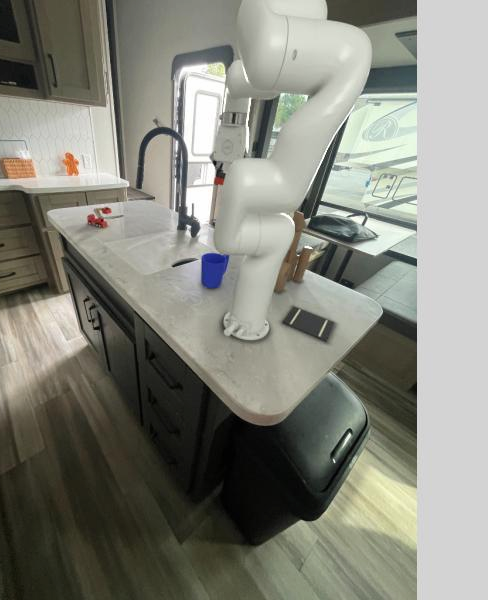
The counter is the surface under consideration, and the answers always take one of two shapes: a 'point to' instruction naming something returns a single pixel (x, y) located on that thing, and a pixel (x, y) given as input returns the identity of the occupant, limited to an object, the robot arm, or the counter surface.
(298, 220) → the wooden toy
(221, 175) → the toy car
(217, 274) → the mug
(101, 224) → the toy fire truck
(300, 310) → the mat
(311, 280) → the counter surface
